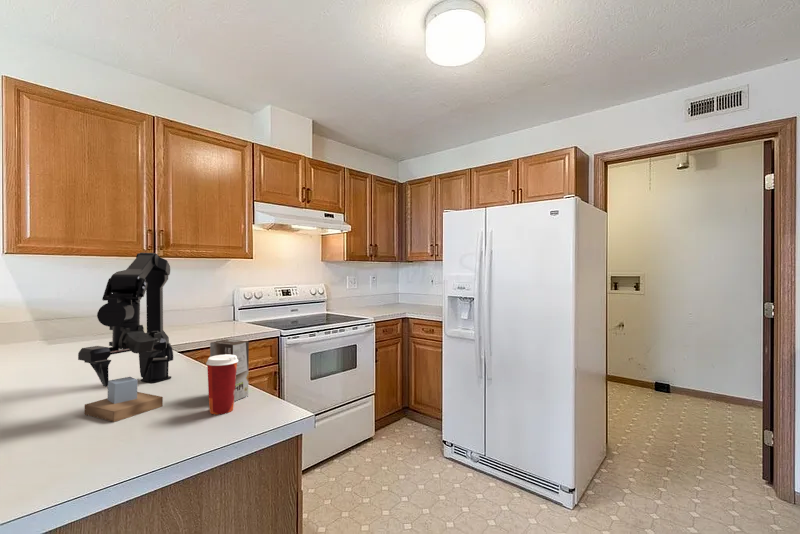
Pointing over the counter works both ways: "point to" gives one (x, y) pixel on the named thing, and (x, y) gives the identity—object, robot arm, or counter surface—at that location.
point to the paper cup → (221, 383)
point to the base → (123, 407)
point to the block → (122, 389)
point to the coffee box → (242, 365)
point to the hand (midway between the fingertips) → (125, 381)
